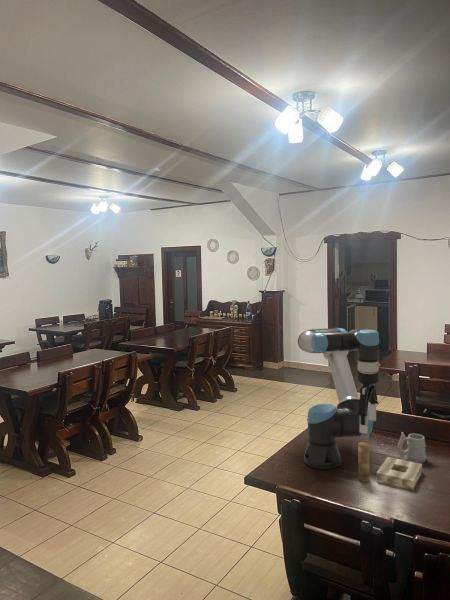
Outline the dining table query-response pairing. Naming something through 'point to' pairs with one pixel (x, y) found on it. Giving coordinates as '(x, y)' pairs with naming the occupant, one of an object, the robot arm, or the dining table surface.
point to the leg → (363, 462)
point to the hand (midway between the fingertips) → (368, 426)
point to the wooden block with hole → (399, 473)
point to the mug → (413, 447)
